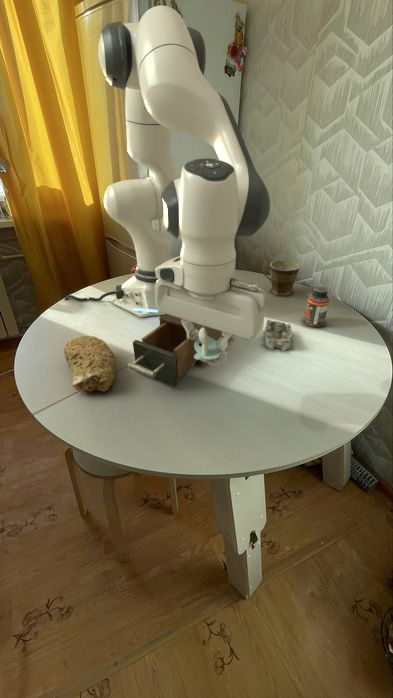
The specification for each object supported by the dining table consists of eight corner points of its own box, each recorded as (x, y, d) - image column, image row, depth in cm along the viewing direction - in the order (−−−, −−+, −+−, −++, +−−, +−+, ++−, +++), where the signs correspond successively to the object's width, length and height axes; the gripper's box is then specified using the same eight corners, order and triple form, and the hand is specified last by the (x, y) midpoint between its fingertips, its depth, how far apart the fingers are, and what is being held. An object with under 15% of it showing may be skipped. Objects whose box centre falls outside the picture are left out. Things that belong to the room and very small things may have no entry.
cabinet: (201, 366, 90) (201, 330, 84) (162, 352, 95) (159, 317, 90) (230, 338, 101) (231, 305, 95) (192, 327, 106) (192, 295, 100)
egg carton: (290, 352, 95) (292, 339, 92) (261, 348, 96) (263, 335, 94) (291, 332, 103) (293, 320, 101) (265, 329, 105) (267, 317, 103)
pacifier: (224, 346, 69) (193, 345, 68) (227, 318, 65) (194, 317, 65) (227, 369, 63) (193, 369, 62) (230, 340, 59) (195, 339, 59)
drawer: (162, 399, 78) (159, 367, 73) (123, 382, 83) (118, 351, 79) (206, 356, 92) (206, 327, 87) (170, 344, 97) (168, 316, 92)
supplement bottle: (300, 319, 110) (306, 285, 103) (317, 317, 111) (324, 283, 104) (309, 329, 105) (316, 294, 98) (327, 326, 106) (335, 291, 100)
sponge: (121, 394, 83) (117, 337, 97) (110, 374, 77) (108, 316, 91) (66, 408, 83) (71, 348, 96) (51, 388, 77) (58, 328, 91)
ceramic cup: (295, 287, 130) (299, 261, 124) (295, 299, 122) (300, 271, 116) (260, 284, 132) (262, 258, 127) (257, 295, 124) (260, 268, 119)
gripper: (275, 279, 55) (265, 352, 63) (168, 255, 64) (172, 321, 72) (258, 295, 51) (250, 370, 59) (147, 267, 60) (153, 335, 68)
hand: (206, 343), depth 65 cm, fingers closed on pacifier, 5 cm apart
